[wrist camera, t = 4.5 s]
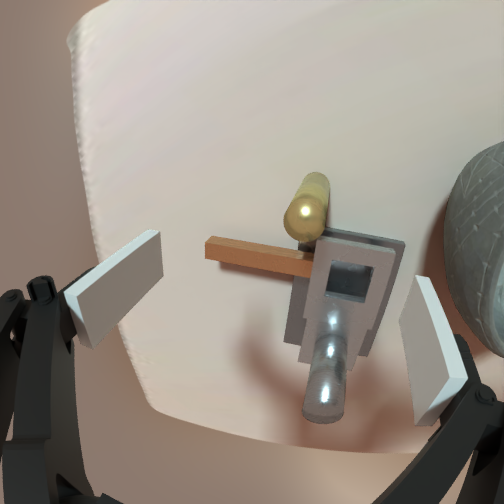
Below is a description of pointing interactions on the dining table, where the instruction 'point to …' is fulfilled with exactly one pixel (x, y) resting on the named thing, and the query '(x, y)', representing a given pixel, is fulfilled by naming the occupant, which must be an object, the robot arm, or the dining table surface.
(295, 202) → the gold rounded cylinder
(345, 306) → the grey lever block
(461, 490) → the robot arm
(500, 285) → the bowl
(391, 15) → the dining table surface
